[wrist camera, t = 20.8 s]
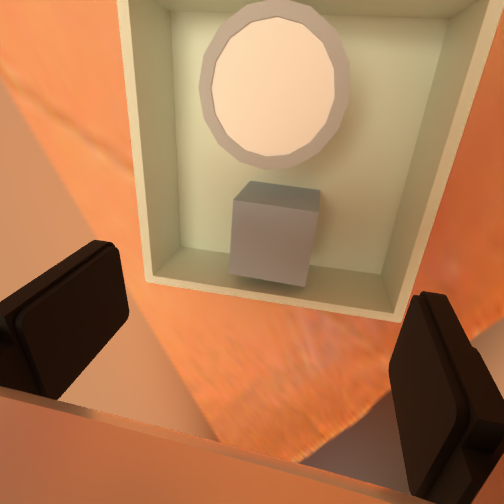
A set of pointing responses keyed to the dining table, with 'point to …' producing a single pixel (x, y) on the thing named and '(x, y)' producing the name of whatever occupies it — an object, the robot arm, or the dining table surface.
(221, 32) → the shot glass
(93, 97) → the dining table surface
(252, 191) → the cube
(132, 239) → the dining table surface
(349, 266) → the tote
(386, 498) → the robot arm
